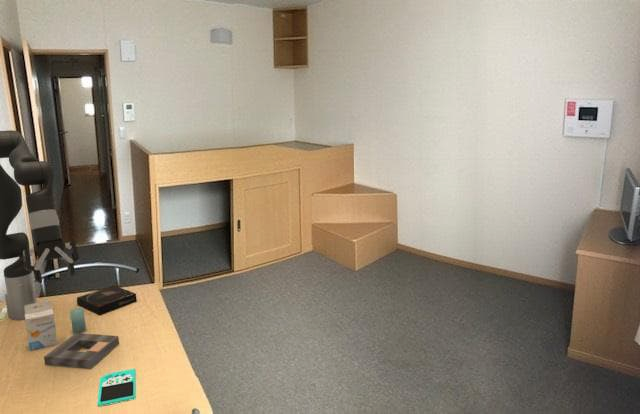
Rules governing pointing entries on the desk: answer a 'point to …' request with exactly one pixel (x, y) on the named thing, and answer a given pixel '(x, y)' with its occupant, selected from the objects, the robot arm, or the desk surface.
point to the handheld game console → (117, 387)
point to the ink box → (40, 325)
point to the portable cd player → (106, 300)
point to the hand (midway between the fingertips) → (56, 279)
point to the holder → (72, 357)
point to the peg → (78, 320)
